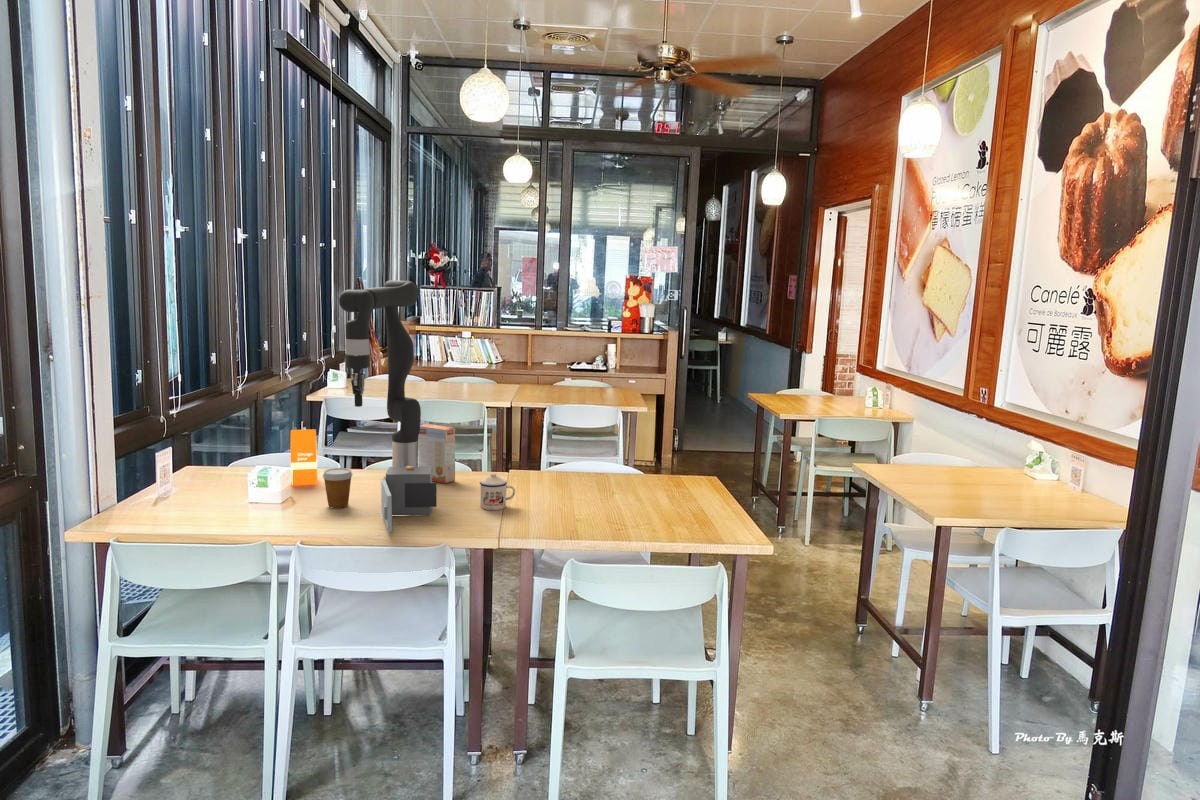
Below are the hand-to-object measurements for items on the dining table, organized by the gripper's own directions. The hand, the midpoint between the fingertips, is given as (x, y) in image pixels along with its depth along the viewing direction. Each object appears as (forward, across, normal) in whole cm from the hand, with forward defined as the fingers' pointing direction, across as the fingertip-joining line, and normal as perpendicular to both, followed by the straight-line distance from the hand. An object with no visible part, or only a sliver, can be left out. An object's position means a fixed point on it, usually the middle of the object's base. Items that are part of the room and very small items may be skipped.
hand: (358, 406), depth 254 cm
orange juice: (+35, -37, -25) cm, 57 cm away
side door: (+34, +17, +10) cm, 39 cm away
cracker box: (+35, -39, +23) cm, 57 cm away
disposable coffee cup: (+35, -6, -8) cm, 37 cm away
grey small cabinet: (+35, +2, +16) cm, 39 cm away
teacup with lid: (+35, -2, +45) cm, 57 cm away
